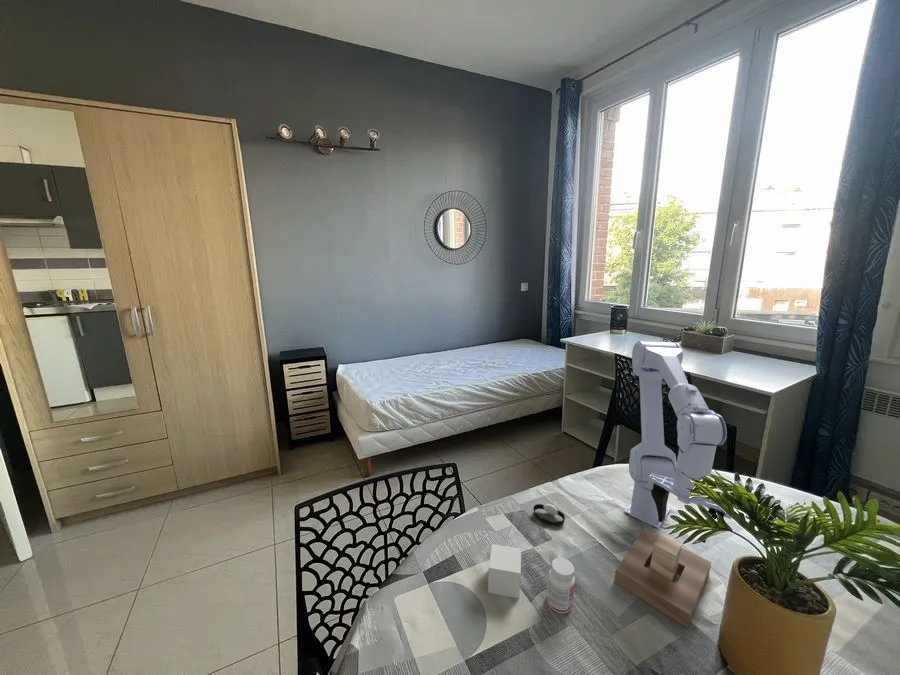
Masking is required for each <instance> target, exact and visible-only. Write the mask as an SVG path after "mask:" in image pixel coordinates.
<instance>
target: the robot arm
mask: <svg viewBox="0 0 900 675" xmlns="http://www.w3.org/2000/svg"><path fill="white" fill-rule="evenodd" d="M683 357H684V351H683V348H682V346H681V345H680V343H679V342H677V341H676V342H675V341H673V342H667V341H666V342H665V341H663V342H662V341H661V342H660V341H642V340H637V341H636V342H635V343H634V345H633V348H632V351H631V361H632V364H631V366H632V373H633V374H634V375H635V376H637V377H638V379H639V394H640V395H639V398H640V400H639V401H640V426H641V442H639V443H638V444H637V445H635V446H634V447H632V448H631V449H630V452H629V454H630V455H629V460H628V472H629V476H630V478H631V479H632V480H633V481H634V482H633V489H632V496H631V501H630V503H629V504H628V506H626V508H625V509H624V513H625V514H628V515H629V516H631V517H633V518H635V519H638V520H639V521H642V522H643V523H645V524H648V525H650V526H652V527H654V528H656V529H659V528H660V526H662V523H664V521H665V519H666V518H667V516H668V514H669V513H670V512H671V508H669V507H668V506H667V505H668V500H669V497H670V496H669V495H670V493H671V494H672V495H674V496H675V497H677V501H679V502H682V503H683V504H686V505H691V504H694V505H698V506H702V507H705V508H707V509H708V510H707V512H709V513H710V514H711V515H712V517H713V518H714V519H716V518H717V515H716V511H715V510H717V512H718V513H719V514H720V515H721V516H722V518H723V519H724V518H726V519H729V520H731V519H732V518H731V517H730V516H729V515H728V514H727V513H725V512H724V511H723V510H722V509H721V508H720V507H719V506H718V505H716V504H714V503H713V502H712V501H710V500H708V499H704V498H695V499H692V498H689V497H690V496H691V493H689V492H688V490H687V488H689V489H693V488H694V487H695V485H694V483H692V482H691V481H690V480H689V478H693V479H695V480H698V481H700V480H701V476H710V477H711V475H712V470H713V465H714V460H715V456H716V455H715V454H716V450H717V446H722V445H724V444H725V442H726V440H727V434H728V431H727V424H726V422H725V420H724V417H723V416H722V415H721V414H719V413H716V412H715V411H714V410H712V409H709V406H708V405H707V403H706V401H705V400H704V397H703V396H702V394H701V392H700V391H699V389H698V387H697V386H695V385H694V384H690V383H689V382H688V379H687V376H686V374H685V371H684V369H683V366H682V362H683ZM662 380H664V381H665V383H666V385H667V386H668V388H669V389H670V390H669V392H668V394H667V396H668V397H667V398H668V400H669V402H670V404H671V406H672V408H673V410H674V413H675V415H676V417H677V422H676V431H677V439H676V440H677V446H678V452H677V453H678V454H677V456H676V453H674V452H673V451H672V449H670V448H669V447H667V446H666V445H665V435H664V434H665V432H664V414H663V413H664V410H663V408H664V407H663V393H662V391H663V389H662ZM706 542H707V539H706V540H704V541H702V542H701V543H703V544H705V543H706Z"/></svg>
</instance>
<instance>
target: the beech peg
mask: <svg viewBox="0 0 900 675" xmlns="http://www.w3.org/2000/svg"><path fill="white" fill-rule="evenodd" d="M658 536H659V537H658V538H657V540H656V541H655V543H654V546H653V552H652V558H651V564H650V570H652V571H654V572H655V573H657V574H659V575H661V576H662V577H664V578H666V579H668V580H669V581H671V582H674V580H675V578H676V575H677V570H678V565H679V559H680V554H681V549H682V548H683V544H682V543H680V542H678V541H677V540H674V539H672V538H670V537H668V536H666V535H664V534H662V533H660V534H659V535H658Z"/></svg>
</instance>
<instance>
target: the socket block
mask: <svg viewBox="0 0 900 675" xmlns="http://www.w3.org/2000/svg"><path fill="white" fill-rule="evenodd" d="M658 537H659V535H658V534H656V533H654V532H652V531H650V530H648V529H646V528H643V529H642V531H641V532H640V534H639V536H638V537H637V538H636V540H635V541H634V543H633V544H632V545H631V548H629V549H628V551H627V553H626V555H625V556H624V557H623V559H621V560H622V561H620V563H619V565H618V566H617V568H616V569H615V574H614V581H613V582H614V583H615V584H617V585H619V586H620V587H621V588H623V589H624V590H626V591H628V592H629V593H631V594H633V595H634V596H635V597H637V598H639V599H641V600H642V601H644V602H645V603H647V604H649V605H650V606H652V607H653V608H655V609H656V610H659V612H661V613H663V614H665V615H666V616H668V617H669V618H670V619H673V620H674V621H675V622H678V623H679V624H681V625H682V626H683V627H685V628H687V629H688V628H689V627H690V623H691V620H692V618H693V616H694V613H695V610H696V607H697V606H698V603H699V601H700V598H701V596H702V593H703V590H704V587H705V585H706V583H707V581H708V578H709V576H710V571H711V566H712V561H710V560H708V559H706V558H704V557H701V556H699V555H698V554H696V553H693V552H692V551H691V550H688V549H685V548H684V547H682V549H681V554H680V559H679V565H678V570H677V575H676V578H675V580H674V582H671V581H669V580H668V579H666V578H664V577H662V576H661V575H659V574H657V573H655V572H654V571H652V570H650V564H651V558H652V552H653V546H654V543H655V541H656V540H657V538H658Z"/></svg>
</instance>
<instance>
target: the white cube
mask: <svg viewBox="0 0 900 675" xmlns="http://www.w3.org/2000/svg"><path fill="white" fill-rule="evenodd" d="M521 564H522V548H519V547H513V546H508V545H507V546H506V545H500V544H495V543H493V544H492V543H491V549H490V558H489V565H488V581H487V582H488V583H487V584H488V586H487V593H489V594H494V595H499V596H500V595H501V596H504V597H510V598H514V599H520V588H521V576H522V575H521V574H522V570H521V569H522V565H521Z"/></svg>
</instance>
